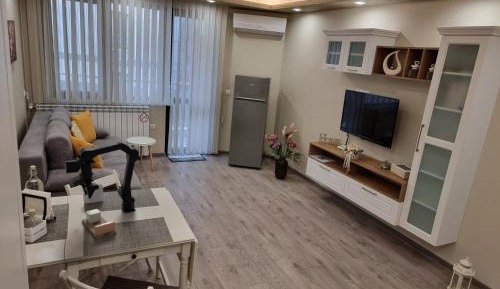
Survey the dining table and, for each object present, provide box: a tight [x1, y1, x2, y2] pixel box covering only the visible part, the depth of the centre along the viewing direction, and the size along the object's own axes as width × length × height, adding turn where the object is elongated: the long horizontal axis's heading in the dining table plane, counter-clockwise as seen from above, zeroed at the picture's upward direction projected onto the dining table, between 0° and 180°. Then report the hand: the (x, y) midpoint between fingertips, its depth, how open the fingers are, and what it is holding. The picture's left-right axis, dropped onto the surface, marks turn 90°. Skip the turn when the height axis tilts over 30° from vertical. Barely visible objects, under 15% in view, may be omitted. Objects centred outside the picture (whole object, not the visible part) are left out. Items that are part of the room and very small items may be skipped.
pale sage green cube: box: [85, 208, 102, 223], centre depth 192 cm, size 6×5×5 cm
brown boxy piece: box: [81, 216, 117, 240], centre depth 187 cm, size 10×22×6 cm, turn 44°
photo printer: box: [84, 182, 104, 204], centre depth 216 cm, size 10×4×12 cm, turn 123°
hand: (87, 196), depth 194 cm, fingers open, 5 cm apart
